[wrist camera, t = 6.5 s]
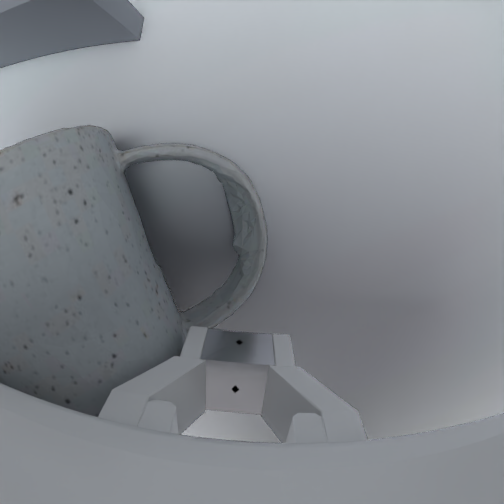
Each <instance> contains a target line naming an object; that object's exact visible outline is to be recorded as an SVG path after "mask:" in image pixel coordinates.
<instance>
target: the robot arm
mask: <svg viewBox="0 0 504 504" xmlns="http://www.w3.org/2000/svg"><path fill="white" fill-rule="evenodd" d="M205 410H213V411H226V412H238V413H248V414H260V415H261V416H262V418H263V419H264V420H265V422H266V423H267V424H268V425H269V427H270V428H271V429H272V431H273V432H274V433H275V435H276V436H277V437H278V438H279V440H280V441H281V442H282V443H265V442H246V441H232V440H221V439H211V438H203V437H195V436H187V435H180V434H182V433H183V432H184V431H185V430H186V429H187V428H188V427H189V426H190V425H191V424H192V423H193V422H194V421H195V420H197V419H198V418H199V417H200V416H201V415H202V414H203V413H204V412H205ZM0 504H504V413H501V414H498V415H495V416H491V417H488V418H484V419H481V420H477V421H473V422H469V423H465V424H461V425H457V426H452V427H448V428H443V429H438V430H433V431H428V432H422V433H417V434H411V435H404V436H397V437H389V438H381V439H371V440H368V438H367V435H366V433H365V430H364V427H363V424H362V421H361V418H360V415H359V412H358V411H357V410H356V409H355V408H353V407H352V406H351V405H349V404H348V403H347V402H345V401H344V400H343V399H341V398H340V397H339V396H338V395H336V394H335V393H334V392H332V391H331V390H330V389H328V388H327V387H326V386H324V385H323V384H322V383H321V382H319V381H318V380H317V379H315V378H314V377H313V376H312V375H310V374H309V373H308V372H307V371H305V370H304V369H303V368H302V367H296V364H295V359H294V353H293V348H292V343H291V337H290V335H289V334H267V333H249V332H240V331H231V330H222V329H214V328H207V327H198V326H191V327H190V328H189V331H188V334H187V336H186V339H185V342H184V345H183V348H182V351H181V354H180V357H179V356H174V357H172V358H170V359H168V360H167V361H165V362H163V363H161V364H159V365H157V366H156V367H154V368H152V369H150V370H148V371H146V372H144V373H143V374H141V375H139V376H137V377H135V378H133V379H131V380H129V381H127V382H126V383H124V384H122V385H120V386H118V387H116V388H114V389H112V391H111V393H110V395H109V397H108V398H107V400H106V402H105V404H104V406H103V408H102V410H101V412H100V414H99V416H98V417H95V416H92V415H88V414H85V413H81V412H78V411H75V410H72V409H68V408H65V407H62V406H59V405H56V404H53V403H50V402H48V401H45V400H42V399H39V398H37V397H34V396H31V395H29V394H26V393H24V392H21V391H19V390H16V389H14V388H11V387H9V386H7V385H4V384H2V383H0Z"/></svg>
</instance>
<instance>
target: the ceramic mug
mask: <svg viewBox="0 0 504 504" xmlns="http://www.w3.org/2000/svg"><path fill="white" fill-rule="evenodd" d="M155 160H183V161H189V162H192V163H195V164H199V165H202V166H204V167H206V168H207V169H209V170H211V171H213V172H214V173H215V174H216V176H217V178H218V180H219V181H220V182H221V183H222V184H223V187H224V189H225V193H226V197H227V201H228V205H229V209H230V212H231V215H232V220H233V226H234V233H235V236H234V240H233V247H234V249H235V251H236V252H237V253H238V254H239V258H238V261H237V265H236V266H235V268H234V270H233V271H232V273H231V275H230V277H229V278H228V280H227V281H226V283H225V284H224V285H223V286H222V287H221V288H219V289H218V290H216V291H215V292H214V294H213V295H212V296H210V297H209V298H207V299H206V300H204V301H202V302H201V303H200V304H198V305H197V306H195V307H193V308H191V309H189V310H187V311H185V312H181V313H179V312H178V311H177V308H176V306H175V304H174V302H173V299H172V295H171V293H170V291H169V289H168V287H167V285H166V282H165V280H164V277H163V274H162V271H161V268H160V267H159V266H158V265H157V264H156V262H155V259H154V257H153V254H152V251H151V249H150V246H149V244H148V241H147V238H146V235H145V231H144V228H143V225H142V221H141V219H140V216H139V213H138V210H137V208H136V206H135V202H134V199H133V197H132V194H131V192H130V189H129V185H128V182H127V180H126V176H125V173H124V171H125V169H126V168H128V167H129V166H131V165H134V164H138V163H142V162H148V161H155ZM266 250H267V228H266V222H265V217H264V213H263V210H262V206H261V202H260V199H259V197H258V195H257V193H256V191H255V189H254V187H253V185H252V183H251V181H250V179H249V177H248V176H247V175H246V174H245V173H244V172H243V171H242V170H241V169H240V168H239V167H238V166H237V165H236V164H234V163H233V162H232V161H231V160H229V159H227V158H226V157H224V156H222V155H219V154H217V153H215V152H212V151H210V150H207V149H205V148H202V147H197V146H195V145H187V144H177V143H161V144H154V145H148V146H141V147H136V148H132V149H128V150H125V151H120V150H117V148H116V146H115V143H114V141H113V138H112V136H111V134H110V133H109V132H108V131H107V130H105V129H103V128H101V127H96V126H91V125H87V126H79V127H74V128H62V129H58V130H55V131H51V132H48V133H45V134H42V135H39V136H36V137H33V138H30V139H27V140H24V141H22V142H20V143H17V144H15V145H13V146H10V147H7V148H4V149H2V150H0V383H2V384H4V385H7V386H9V387H11V388H14V389H16V390H19V391H21V392H24V393H26V394H29V395H31V396H34V397H37V398H39V399H42V400H45V401H48V402H50V403H53V404H56V405H59V406H62V407H65V408H68V409H72V410H75V411H78V412H81V413H85V414H88V415H92V416H95V417H98V416H99V414H100V412H101V410H102V408H103V406H104V404H105V402H106V400H107V398H108V397H109V395H110V393H111V391H112V389H114V388H116V387H118V386H120V385H122V384H124V383H126V382H127V381H129V380H131V379H133V378H135V377H137V376H139V375H141V374H143V373H144V372H146V371H148V370H150V369H152V368H154V367H156V366H157V365H159V364H161V363H163V362H165V361H167V360H168V359H170V358H172V357H174V356H179V357H180V354H181V351H182V348H183V345H184V342H185V339H186V336H187V334H188V331H189V328H190V327H191V326H198V327H207V328H213V327H215V326H217V325H218V324H219V323H221V322H222V321H223V320H225V319H226V318H228V317H229V316H231V315H232V314H233V313H234V312H235V311H236V310H237V309H238V308H239V307H240V306H241V305H242V304H243V303H244V302H245V301H246V300H247V299H248V297H249V296H250V295H251V293H252V292H253V290H254V288H255V286H256V284H257V282H258V279H259V277H260V275H261V272H262V269H263V265H264V262H265V259H266Z"/></svg>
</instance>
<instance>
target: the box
mask: <svg viewBox="0 0 504 504" xmlns="http://www.w3.org/2000/svg"><path fill="white" fill-rule="evenodd" d="M143 20H144V17H143V16H142V15H141V14H140V13H139V12H138V11H137V10H136V8H135V7H134V6H133V5H132V4H131V3H130V2H129V1H128V0H0V68H2V67H5V66H8V65H11V64H15V63H18V62H21V61H25V60H29V59H32V58H36V57H40V56H44V55H48V54H53V53H57V52H62V51H67V50H72V49H77V48H83V47H89V46H95V45H102V44H109V43H117V42H126V41H136V40H140V36H141V30H142V25H143Z"/></svg>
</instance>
